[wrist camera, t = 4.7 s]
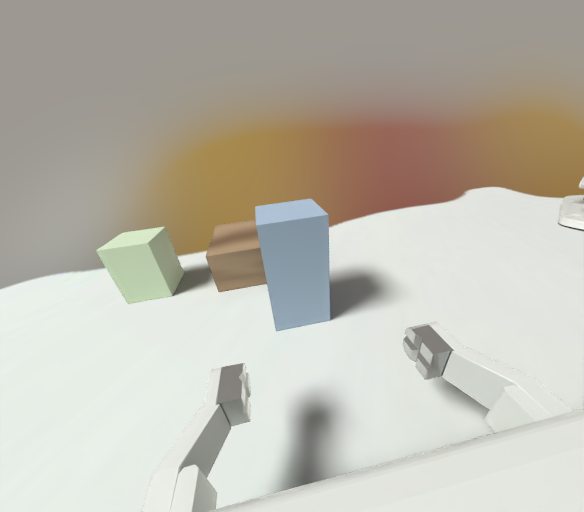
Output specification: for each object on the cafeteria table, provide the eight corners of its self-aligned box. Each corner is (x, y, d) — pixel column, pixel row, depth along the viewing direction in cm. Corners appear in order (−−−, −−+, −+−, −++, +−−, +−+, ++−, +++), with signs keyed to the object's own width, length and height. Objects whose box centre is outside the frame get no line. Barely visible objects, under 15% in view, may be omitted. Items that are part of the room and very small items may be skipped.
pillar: (271, 296, 23) (255, 206, 19) (316, 288, 24) (311, 198, 19) (276, 331, 19) (256, 225, 14) (330, 320, 20) (328, 214, 15)
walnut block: (225, 256, 32) (215, 225, 29) (278, 248, 33) (274, 217, 30) (218, 292, 25) (205, 256, 22) (285, 280, 26) (281, 244, 23)
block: (146, 280, 29) (122, 232, 26) (184, 274, 30) (165, 226, 26) (127, 304, 25) (95, 250, 22) (172, 296, 25) (147, 243, 22)
